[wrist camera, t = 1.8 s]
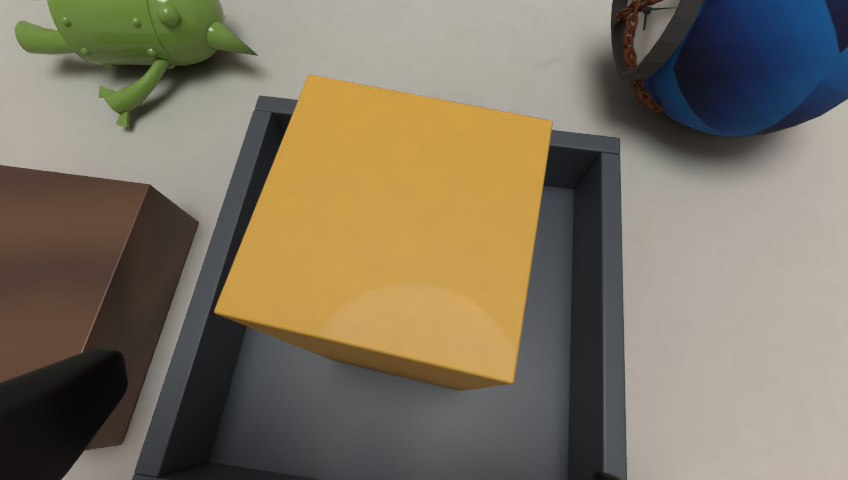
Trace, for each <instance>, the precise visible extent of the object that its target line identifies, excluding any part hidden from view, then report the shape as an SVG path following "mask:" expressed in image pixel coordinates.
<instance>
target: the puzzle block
mask: <svg viewBox="0 0 848 480" xmlns="http://www.w3.org/2000/svg"><path fill="white" fill-rule="evenodd" d="M552 124H553V123H552V121H550V120H545V119H540V118H535V117H529V116H524V115H519V114H514V113H508V112H503V111H498V110H493V109H487V108H482V107H477V106H472V105H466V104H461V103H456V102H451V101H445V100H440V99H435V98H430V97H424V96H419V95H414V94H409V93H403V92H398V91H393V90H388V89H382V88H377V87H372V86H367V85H361V84H356V83H351V82H346V81H340V80H335V79H330V78H325V77H319V76H314V75H308V77H307V80H306V82H305V85H304V87H303V90H302V92H301V95H300V97H299V100H298V102H297V105H296V107H295V110H294V112H293V115H292V117H291V120H290V122H289V125H288V127H287V130H286V132H285V135H284V137H283V140H282V142H281V145H280V147H279V150H278V152H277V155H276V157H275V160H274V162H273V165H272V167H271V170H270V172H269V175H268V177H267V180H266V182H265V185H264V187H263V190H262V192H261V195H260V197H259V200H258V202H257V205H256V207H255V210H254V212H253V215H252V217H251V220H250V222H249V225H248V227H247V230H246V232H245V235H244V237H243V240H242V242H241V245H240V247H239V250H238V252H237V255H236V257H235V260H234V262H233V265H232V267H231V270H230V272H229V275H228V277H227V280H226V282H225V285H224V287H223V290H222V292H221V295H220V297H219V300H218V302H217V305H216V307H215V310H214V313H215V314H217V315H220V316H222V317H225V318H228V319H230V320H233V321H235V322H238V323H240V324H243V325H245V326H248V327H250V328H253V329H255V330H258V331H260V332H263V333H265V334H268V335H270V336H273V337H275V338H278V339H280V340H283V341H285V342H288V343H290V344H293V345H295V346H298V347H300V348H303V349H305V350H308V351H311V352H313V353H316V354H318V355H321V356H323V357H326V358H328V359H331V360H333V361H338V362H342V363H346V364H350V365H354V366H358V367H362V368H367V369H371V370H375V371H379V372H383V373H387V374H391V375H395V376H400V377H404V378H408V379H412V380H416V381H420V382H424V383H429V384H433V385H437V386H441V387H445V388H449V389H453V390H458V391H464V390H471V389H479V388H486V387H493V386H501V385H508V384H513V383H514V379H515V372H516V366H517V359H518V352H519V346H520V339H521V332H522V325H523V319H524V312H525V305H526V299H527V292H528V285H529V278H530V272H531V265H532V258H533V252H534V245H535V238H536V231H537V225H538V218H539V211H540V205H541V198H542V191H543V184H544V178H545V171H546V164H547V158H548V151H549V144H550V137H551V131H552Z"/></svg>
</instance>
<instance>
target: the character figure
mask: <svg viewBox="0 0 848 480" xmlns="http://www.w3.org/2000/svg"><path fill="white" fill-rule="evenodd" d="M47 1H48V5H49V10H50V13H51V15H52V18H53V21H54V23H55V25H56V27H57V29H58V30H53V29H47V28H43V27H40V26H38V25H35V24H32V23H29V22H26V21H20V22H18V23H17V25H16V27H15V34H16V38H17V40H18V42H19V44H20V45H21V47H22V48H23V49H24V50H26V51H27V52H29V53H33V54H50V55H54V54H66V53H74V52H75V53H76V54H77V55H78V56H80V57H81V58H82V59H84V60H86V61H87V62H90V63H92V64H96V65H103V66H104V67H105V68H112V67H113V65H148V66H151V67H150V68H149V70H148V71H147V72H146V73H145V75H144V76H143V77H141V78H140V79H139V80H137V81H136V82H134V83H132V84H130V85H129V86H127V87H125V88H122V89H120V90H118V91H114V90H111V89H108V88H105V87H102V86H100V90H99V97H100V98H105V100H106V102H107V103H108V105H109V106H110V107H111V108H112V109H113V110H115V111H116V112H117V113H119V114H120V115H119V118H118V121H117V123H116V124H117V125H121V126H125V127H129V111H131V110H133V109H134V108H136V107H137V106H138V105H139V104H141V103H142V102H143V101H144V100H145V99H146V98H147V97H148V96H149V94H150V93H151V92H152V90H153V89H154V88H155V87H156V85H157V83H158V82H159V80H160V79H161V77H162V76H163V74H164V72H165V71H166V69H167V68H168V69H173V68H174V66H188V65H191V64H196V63H199V62H202V61H204V60H206V59H208V58H210V57H211V56H212V55H214V54H215V53H216V51H217V50H224V51H231V52H237V53H244V54H251V55H257V54H256V53H255V52H254V51H252V50H251V49H250V48H249V47H248V46H247V45H246V44H244V43H243V42H242V41H241V40H240V39H239V38H238V37H236V36H235V35H234V34H233V33H232V32H231V31H229V30H228V29H227V28H226V27H225V25H226V24H225V16H224V13H223V9H222V6H221V3H220V1H219V0H47ZM257 56H258V55H257Z"/></svg>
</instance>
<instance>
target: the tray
mask: <svg viewBox="0 0 848 480" xmlns="http://www.w3.org/2000/svg"><path fill="white" fill-rule="evenodd" d="M297 102H298V100H293V99H285V98H276V97H268V96H259V98H258V101H257V104H256V107H255V110H254V111H253V114H252V117H251V121H250V124H249V127H248V130H247V133H246V136H245V139H244V142H243V145H242V148H241V151H240V154H239V157H238V160H237V163H236V166H235V169H234V172H233V175H232V178H231V181H230V184H229V187H228V190H227V193H226V196H225V199H224V202H223V205H222V208H221V211H220V214H219V217H218V221H217V224H216V227H215V230H214V233H213V236H212V239H211V242H210V245H209V248H208V251H207V254H206V257H205V260H204V263H203V266H202V269H201V272H200V275H199V278H198V281H197V284H196V287H195V290H194V293H193V296H192V299H191V302H190V305H189V308H188V311H187V314H186V317H185V321H184V324H183V327H182V330H181V333H180V336H179V339H178V342H177V345H176V348H175V351H174V354H173V357H172V360H171V363H170V366H169V369H168V372H167V375H166V378H165V381H164V384H163V387H162V390H161V393H160V396H159V399H158V402H157V405H156V408H155V411H154V414H153V417H152V421H151V424H150V427H149V430H148V433H147V436H146V439H145V442H144V445H143V448H142V451H141V454H140V457H139V460H138V463H137V466H136V469H135V472H134V473H135V474H134V476H133V478H132V480H588V479H589V477H590V475H591V474H592V472H594V471H602V472H606V473H610V474H614V475H616V476H618V477H619V478H620V479H621V480H627V458H626V410H625V363H624V316H623V269H622V222H621V174H620V155H619V154H620V139H619V138H615V137H606V136H598V135H590V134H581V133H573V132H564V131H556V130H552V131H551V137H550V144H549V151H548V158H547V164H546V171H545V178H544V184H543V191H542V198H541V205H540V211H539V218H538V225H537V231H536V238H535V245H534V252H533V258H532V265H531V272H530V278H529V285H528V292H527V299H526V305H525V312H524V319H523V325H522V332H521V339H520V346H519V352H518V359H517V366H516V372H515V379H514V383H513V384H508V385H501V386H493V387H486V388H479V389H471V390H464V391H458V390H453V389H449V388H445V387H441V386H437V385H433V384H429V383H424V382H420V381H416V380H412V379H408V378H404V377H400V376H395V375H391V374H387V373H383V372H379V371H375V370H371V369H367V368H362V367H358V366H354V365H350V364H346V363H342V362H338V361H333V360H331V359H328V358H326V357H323V356H321V355H318V354H316V353H313V352H311V351H308V350H305V349H303V348H300V347H298V346H295V345H293V344H290V343H288V342H285V341H283V340H280V339H278V338H275V337H273V336H270V335H268V334H265V333H263V332H260V331H258V330H255V329H253V328H250V327H248V326H245V325H243V324H240V323H238V322H235V321H233V320H230V319H228V318H225V317H222V316H220V315H217V314H215V313H214V310H215V307H216V305H217V302H218V300H219V297H220V295H221V292H222V290H223V287H224V285H225V282H226V280H227V277H228V275H229V272H230V270H231V267H232V265H233V262H234V260H235V257H236V255H237V252H238V250H239V247H240V245H241V242H242V240H243V237H244V235H245V232H246V230H247V227H248V225H249V222H250V220H251V217H252V215H253V212H254V210H255V207H256V205H257V202H258V200H259V197H260V195H261V192H262V190H263V187H264V185H265V182H266V180H267V177H268V175H269V172H270V170H271V167H272V165H273V162H274V160H275V157H276V155H277V152H278V150H279V147H280V145H281V142H282V140H283V137H284V135H285V132H286V130H287V127H288V125H289V122H290V120H291V117H292V115H293V112H294V110H295V107H296V105H297Z"/></svg>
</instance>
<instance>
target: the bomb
mask: <svg viewBox="0 0 848 480" xmlns="http://www.w3.org/2000/svg"><path fill="white" fill-rule="evenodd" d="M611 37H612V48H613V55H614V61H615V65H616V69H617V72H618V73H619V75H620V77H621V78H622V79H623V80H627V81H629V80H631V85H632V87H633V88H634V89H636V90H637V91H638V93H637V98H638V100H639V101H640V102H642V103H644V104H646V105H647V106H648V107H649V109H650V110H652V111H654V112H661V111H663V112H665V113H666V114H667V115H668V116H669V117H671V118H672V119H673V120H674V121H677V122H679V123H681V124H683V125H686V126H688V127H690V128H692V129H695V130H699V131H702V132H706V133H710V134H713V135H720V136H735V137H742V136H753V135H764V134H768V133H771V132H775V131H779V130H782V129H786V128H790V127H793V126H796V125H798V124H801V123H804V122H806V121H809V120H811V119H814V118H816V117H819V116H821V115H823V114H824V113H826V112H828V111H829V110H831V109H832V108H834V107H836V106H837V105H839V104H840V103H842V102H844V101H845V100H847V99H848V0H613V2H612V14H611ZM634 82H636V85H635V83H634ZM638 82H640V85H639V83H638ZM642 88H644V90H645V91H644V90H641V89H642ZM642 94H644V95H646V96H645V97H644V100H643V99H642V98H643V96H642ZM656 106H657V107H658V108H659V109H655V107H656Z"/></svg>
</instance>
